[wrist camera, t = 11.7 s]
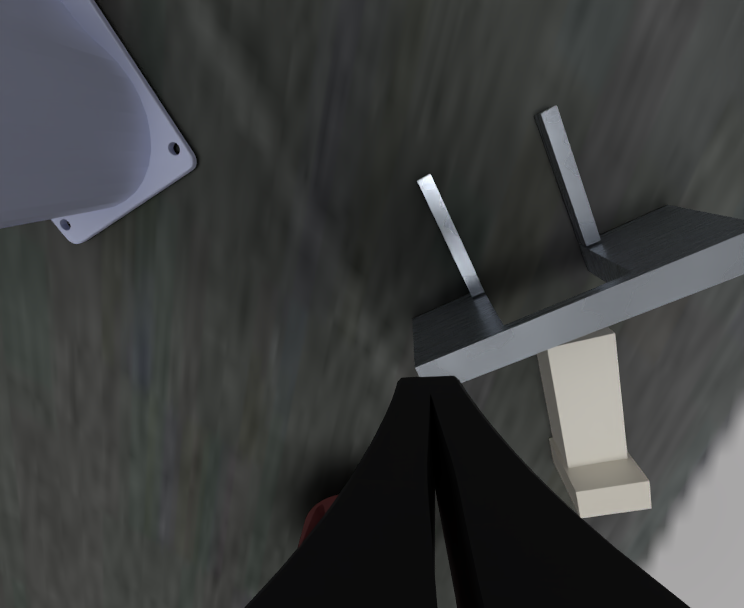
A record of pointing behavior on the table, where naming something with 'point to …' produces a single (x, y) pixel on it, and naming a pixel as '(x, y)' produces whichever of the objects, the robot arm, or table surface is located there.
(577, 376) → the cream l-shaped block
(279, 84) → the table surface
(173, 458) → the table surface
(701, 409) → the table surface
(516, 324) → the housing
